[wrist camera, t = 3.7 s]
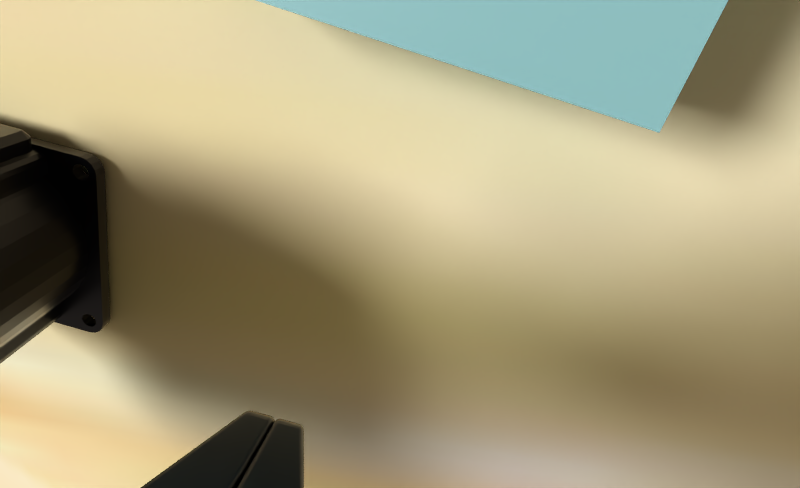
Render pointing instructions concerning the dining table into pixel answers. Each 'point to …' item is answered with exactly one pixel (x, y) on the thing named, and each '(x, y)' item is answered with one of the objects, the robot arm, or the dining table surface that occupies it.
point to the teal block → (547, 44)
